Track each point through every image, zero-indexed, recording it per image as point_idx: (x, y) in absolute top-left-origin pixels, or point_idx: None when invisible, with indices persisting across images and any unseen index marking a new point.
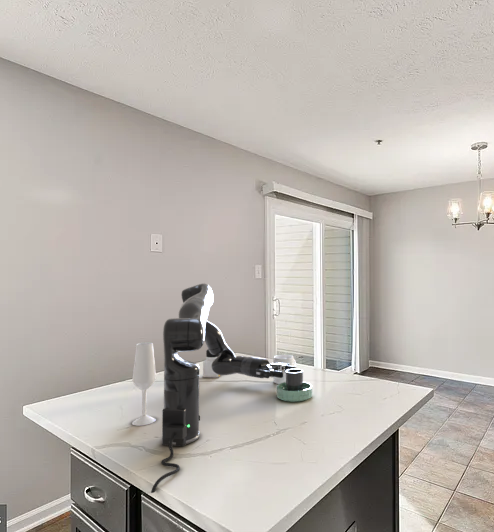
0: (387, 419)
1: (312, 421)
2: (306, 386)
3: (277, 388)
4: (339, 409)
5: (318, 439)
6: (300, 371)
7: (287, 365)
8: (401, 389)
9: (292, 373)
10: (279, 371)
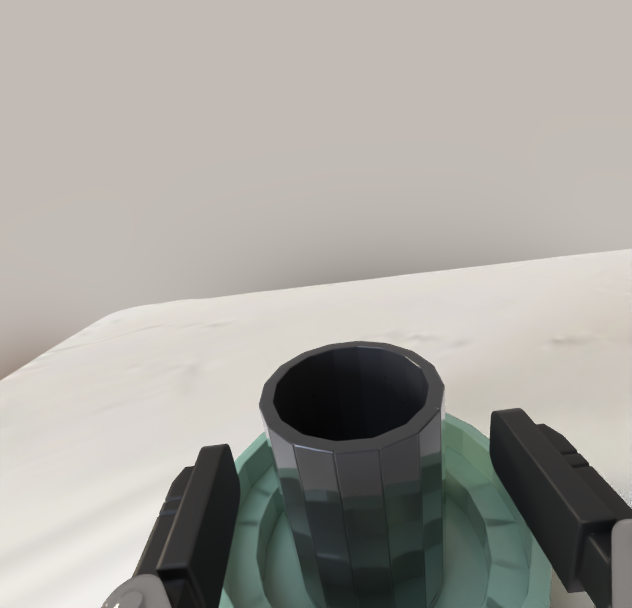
0: (359, 285)
1: (529, 335)
2: (242, 499)
3: (550, 588)
4: (375, 341)
5: (583, 290)
6: (286, 388)
7: (149, 578)
8: (119, 332)
9: (423, 360)
10: (534, 431)
